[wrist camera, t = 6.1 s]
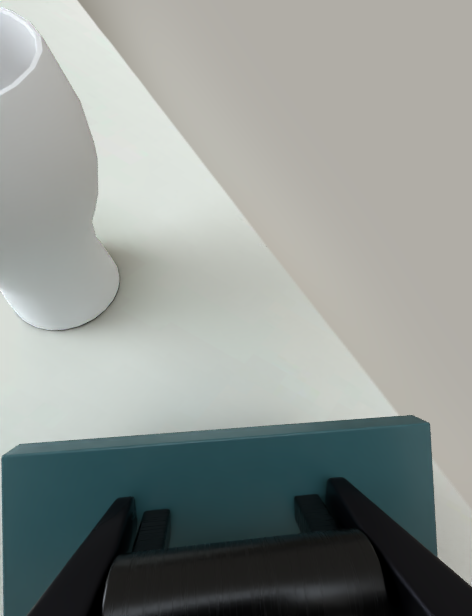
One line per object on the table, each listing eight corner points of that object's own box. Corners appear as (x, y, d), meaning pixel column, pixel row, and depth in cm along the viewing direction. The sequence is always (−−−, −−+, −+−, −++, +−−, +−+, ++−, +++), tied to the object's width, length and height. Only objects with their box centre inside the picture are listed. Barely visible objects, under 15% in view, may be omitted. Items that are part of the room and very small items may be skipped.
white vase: (165, 293, 24) (115, 77, 11) (31, 381, 20) (-291, 208, 7) (94, 213, 28) (-10, -28, 14) (-33, 275, 24) (-335, 24, 11)
